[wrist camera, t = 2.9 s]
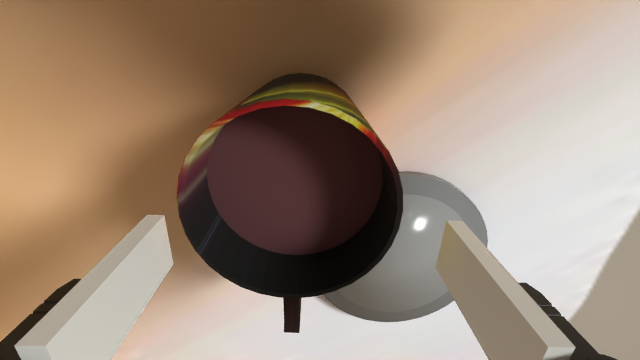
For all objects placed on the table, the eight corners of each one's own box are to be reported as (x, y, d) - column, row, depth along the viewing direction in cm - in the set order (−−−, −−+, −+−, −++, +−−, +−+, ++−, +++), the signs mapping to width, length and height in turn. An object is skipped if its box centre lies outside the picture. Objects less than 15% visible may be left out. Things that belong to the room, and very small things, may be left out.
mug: (295, 243, 28) (284, 370, 17) (217, 106, 23) (126, 160, 12) (394, 206, 27) (451, 318, 16) (334, 50, 21) (356, 52, 10)
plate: (312, 168, 25) (312, 174, 24) (501, 174, 25) (510, 180, 24) (308, 311, 31) (308, 321, 30) (459, 313, 32) (464, 323, 31)
